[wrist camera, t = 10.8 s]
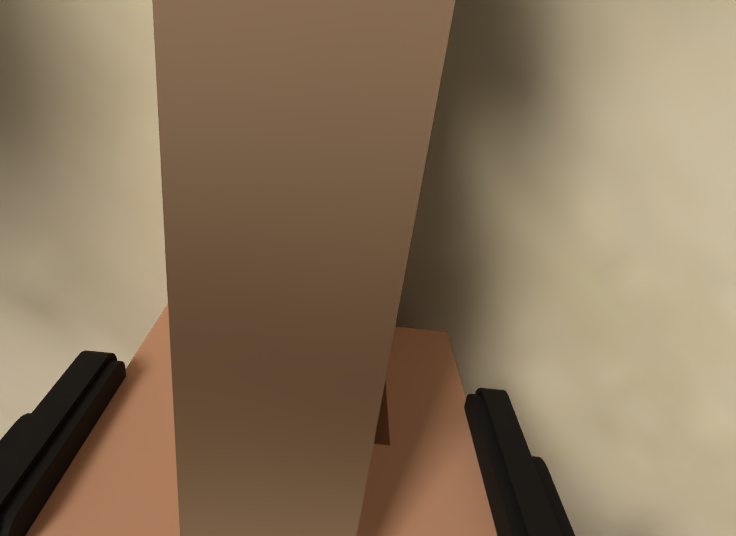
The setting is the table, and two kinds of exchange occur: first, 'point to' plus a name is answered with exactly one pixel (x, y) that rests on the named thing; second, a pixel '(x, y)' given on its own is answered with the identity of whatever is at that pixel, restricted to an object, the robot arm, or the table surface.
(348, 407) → the walnut e-shaped block
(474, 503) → the slotted plate
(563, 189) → the table surface
